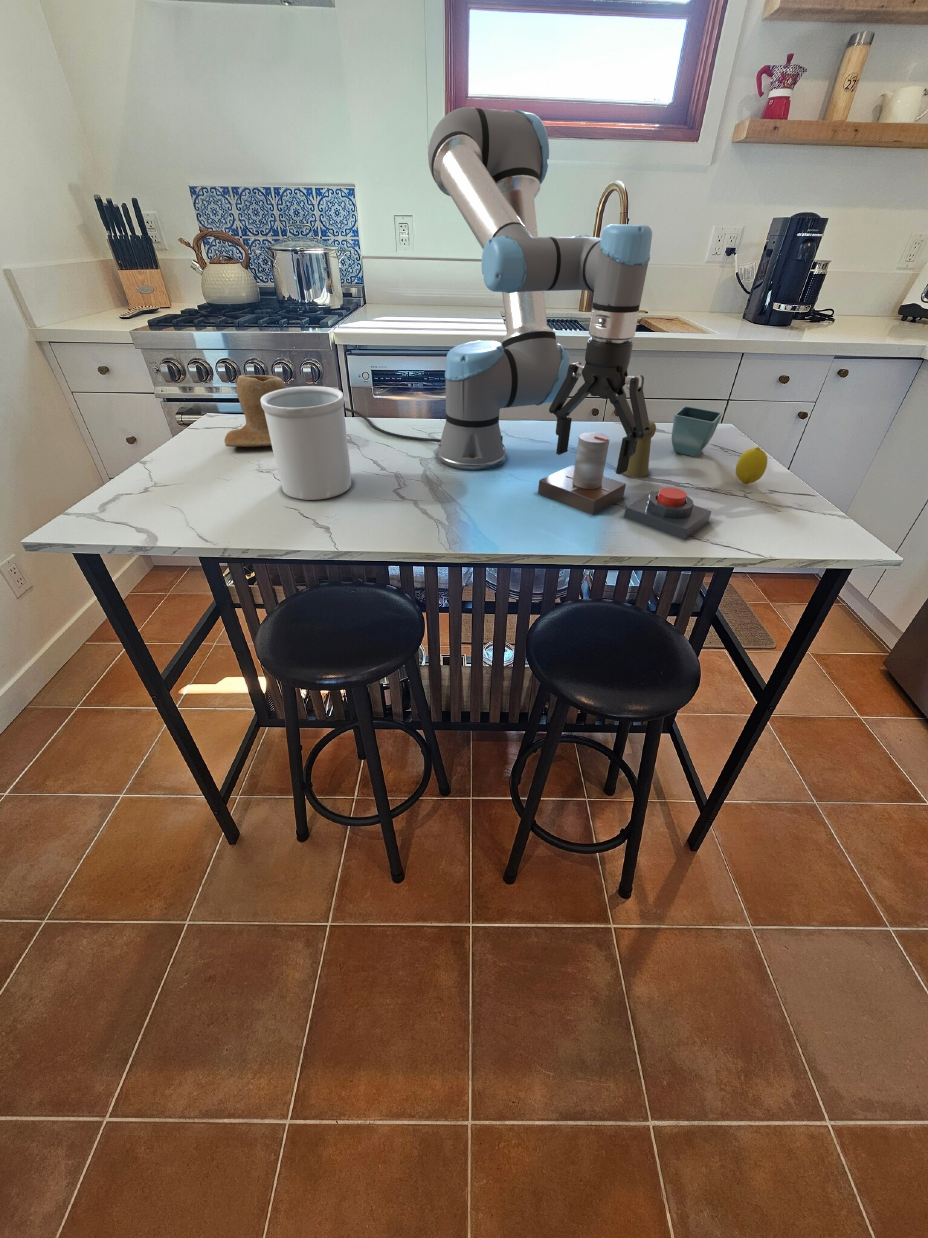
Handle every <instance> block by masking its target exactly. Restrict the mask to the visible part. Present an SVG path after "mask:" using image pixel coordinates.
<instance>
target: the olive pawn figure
mask: <svg viewBox="0 0 928 1238" xmlns="http://www.w3.org/2000/svg"><path fill="white" fill-rule="evenodd" d="M649 425H650V430H651V433H650V434H649V435H647V436H645V437H643V438H638V442H637V447H636V451H635V454H634V455H633V456H631V457H630V459H629V464H628V469H627V471H625V472H623V473H622V474H623V475H625V476H627V477H633V478H642V477H646V476H647V475H648V474H649V465H650V456H651V455H650V453H651V445H652V444H651V443H652V438H653V437H654V436H655V434H656V431H657V425H656V422H654V421H653V420H650V419H649Z"/></svg>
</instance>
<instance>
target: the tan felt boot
mask: <svg viewBox="0 0 928 1238" xmlns="http://www.w3.org/2000/svg"><path fill="white" fill-rule="evenodd" d="M280 389H286V384H285V381H284V380H283V379H282V378H281V377H278V376H275V375H268V374H267V375H266V374H265V375H264V374H262V375H261V374H247V375H245V374H241V375H238V377H237V379H236V389H235V390H236V394H237V399H238V401H239V404H240V407H241V409H242V412H243V415H244V418H245V425H244V426H243V427H241V428H236V429H232V430H229V431H228V432H226V435H225V436H224V441H223V442H224V446H225V447H227V448H228V447H229V448H230V447H231V448H250V447H251V448H252V447H253V448H256V447H258V448H259V447H272V444H271V439H270V435H269V430H268V426H267V421H266V417H265V412H264V410H263V408H262V406H261V401H260V400H261V397H262V396H264V395H265V394H267V393H270V392H273V391H276V390H280Z"/></svg>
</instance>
